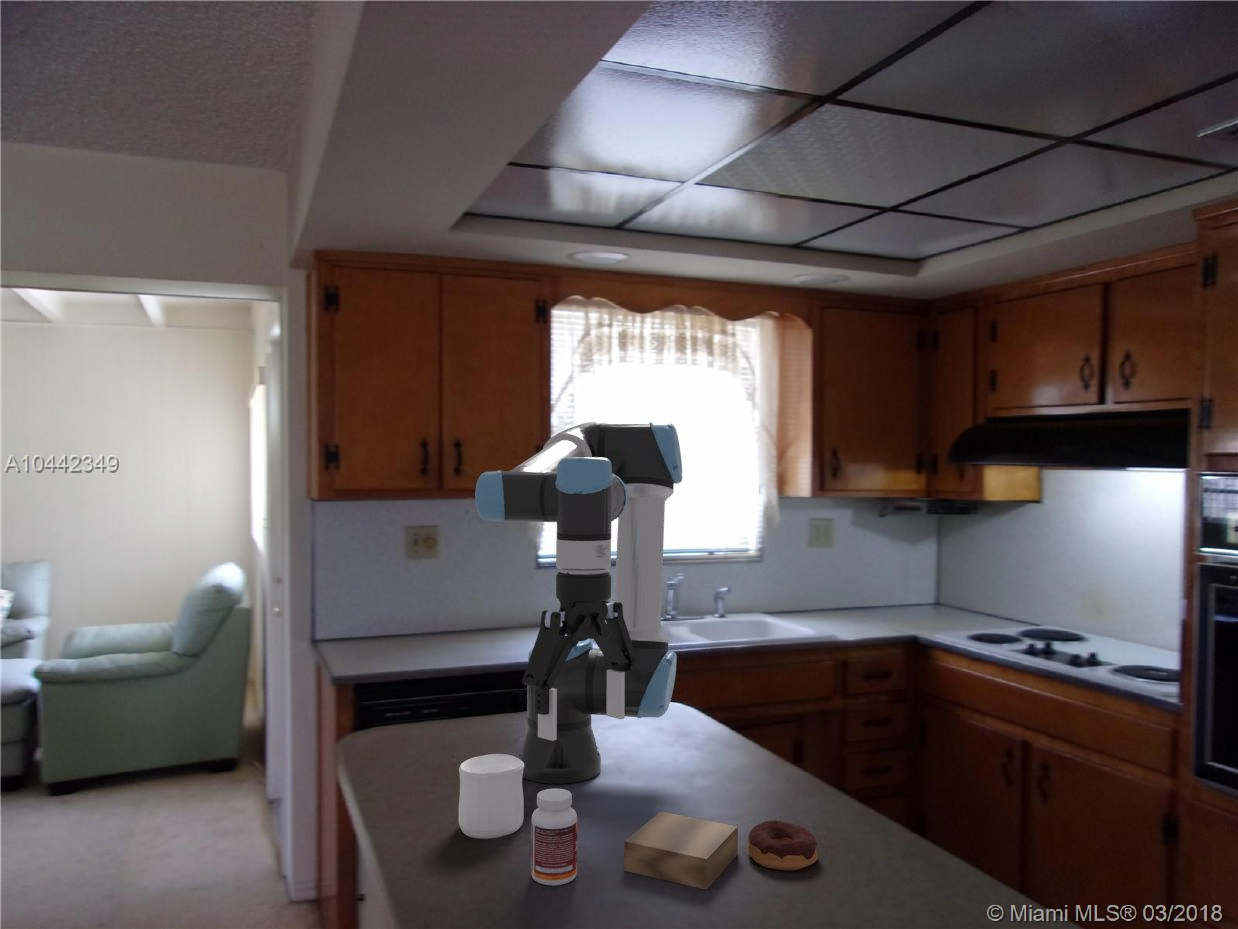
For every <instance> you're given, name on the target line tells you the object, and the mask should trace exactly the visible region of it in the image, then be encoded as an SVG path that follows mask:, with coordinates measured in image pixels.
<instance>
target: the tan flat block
mask: <svg viewBox="0 0 1238 929" xmlns="http://www.w3.org/2000/svg"><path fill="white" fill-rule="evenodd" d="M738 827H739V826H736V825H732V824H727V823H722V822H716V821H712V820H711V821H710V820H706V819H701V818H696V817H690V816H686V815H682V814H675V813H671V812H665V811H660V812H658V813H657V814H656V815H655V816H653V817H652V818H651V819H649V820H648V821H647V822H646V823H645V824H643V825H642V827H639V829H638V830H636V831H635V832H633V834H631V835H630V836H629V837H628V838H626V839H625V840H624V843H623V845H624V846H623V847H624V848H623V850H624V851H623V854H624V855H623V856H624V858H623V859H624V860H623V871H625V872H628V873H629V872H630V873H633V874H637V875H642V876H645V877H650V878H654V879H659V880H663V881H667V882H672V883H674V884H675V883H676V884H680V885H683V886H684V885H685V886H689V887H692V888H698V889H701V890H705V891H707V890H708V889H709V888H710V887H711V885H712V884H713V883H714V882H715V881H716V880H717V879H718V878H719V876H721V874H722V873H723V872H724V871H725V870H726V869H727V867H728V866H729V865H730V864H731V862H733V861H734V860H735V859H736V858H737V856H738V855H739V849H738V848H739V847H738V846H739V845H738V844H739V842H738V841H739V832H738V831H739V828H738Z"/></svg>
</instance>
